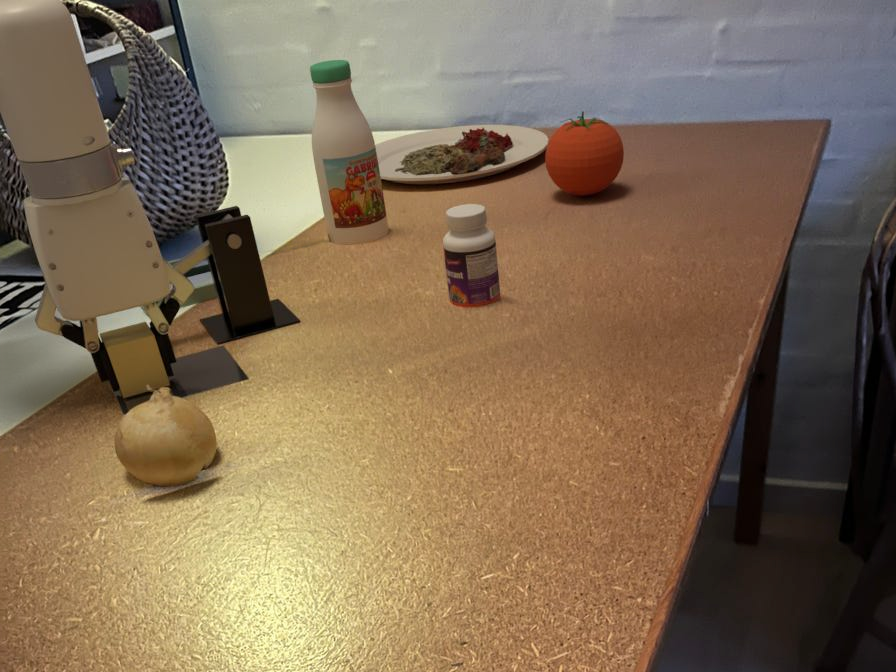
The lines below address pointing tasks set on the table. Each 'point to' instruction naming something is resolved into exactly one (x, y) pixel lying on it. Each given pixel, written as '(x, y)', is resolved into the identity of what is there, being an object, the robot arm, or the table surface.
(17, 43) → the robot arm
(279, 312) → the black lever stand
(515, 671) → the table surface
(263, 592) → the table surface
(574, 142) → the tomato
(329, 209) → the milk bottle
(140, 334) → the yellow rectangular block
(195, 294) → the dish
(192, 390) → the board
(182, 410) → the onion
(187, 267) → the lever
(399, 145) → the plated food
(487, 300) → the pill bottle
